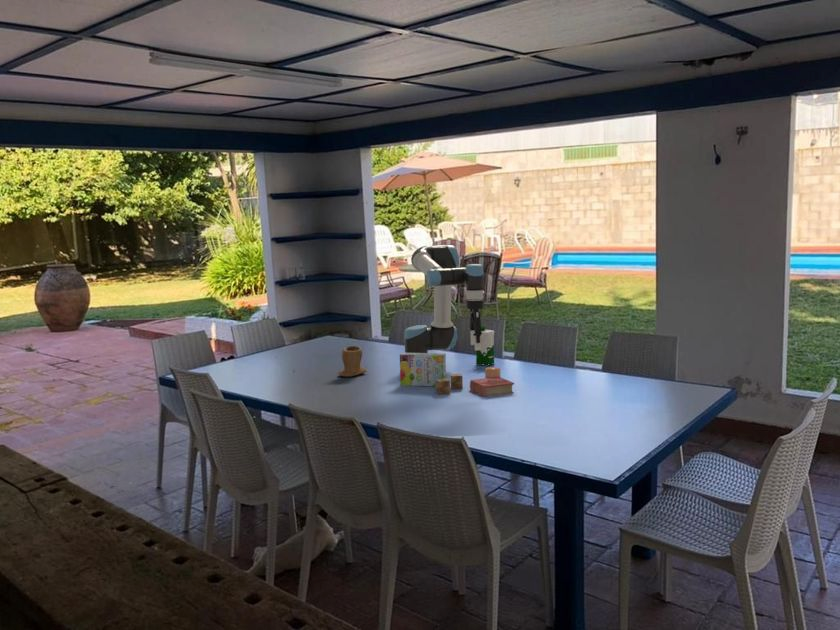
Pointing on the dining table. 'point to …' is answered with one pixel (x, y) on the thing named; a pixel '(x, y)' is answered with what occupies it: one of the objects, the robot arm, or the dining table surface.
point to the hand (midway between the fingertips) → (475, 347)
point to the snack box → (422, 368)
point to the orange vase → (352, 361)
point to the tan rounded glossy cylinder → (492, 372)
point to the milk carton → (486, 347)
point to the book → (491, 386)
